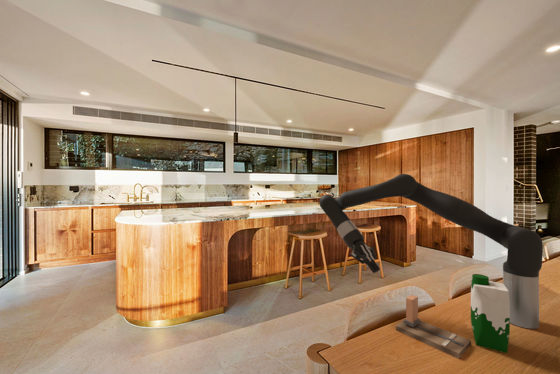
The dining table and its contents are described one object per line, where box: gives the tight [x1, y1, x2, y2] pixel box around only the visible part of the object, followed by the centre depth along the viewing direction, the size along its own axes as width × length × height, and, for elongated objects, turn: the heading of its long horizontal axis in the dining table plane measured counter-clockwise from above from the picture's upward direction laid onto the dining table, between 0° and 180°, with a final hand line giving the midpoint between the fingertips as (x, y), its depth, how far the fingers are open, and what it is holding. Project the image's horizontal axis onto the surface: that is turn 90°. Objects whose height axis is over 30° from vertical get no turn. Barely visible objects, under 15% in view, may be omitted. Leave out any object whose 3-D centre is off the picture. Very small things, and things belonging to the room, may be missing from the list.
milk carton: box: [470, 273, 511, 354], centre depth 78 cm, size 9×9×20 cm
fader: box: [403, 294, 421, 327], centre depth 85 cm, size 3×5×8 cm, turn 127°
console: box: [395, 319, 472, 359], centre depth 81 cm, size 18×10×2 cm, turn 37°
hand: (377, 271), depth 96 cm, fingers closed
